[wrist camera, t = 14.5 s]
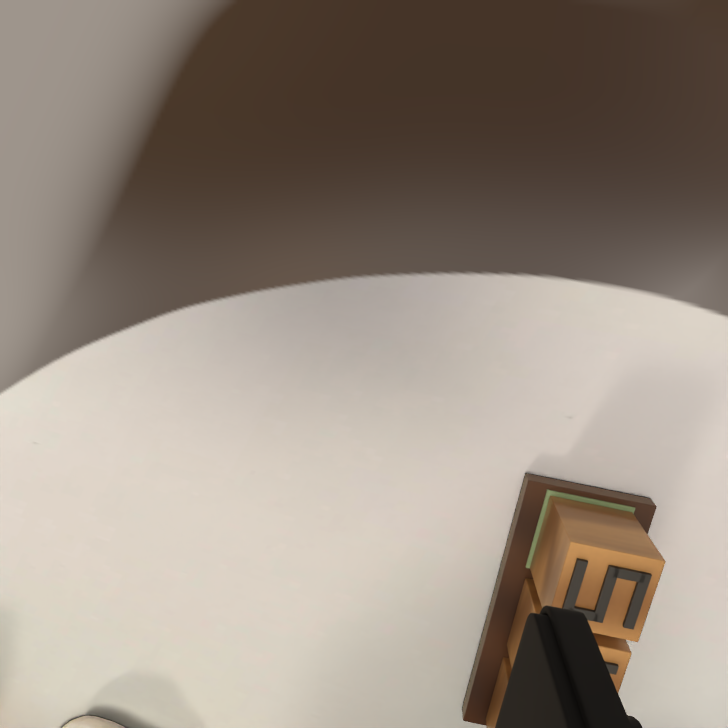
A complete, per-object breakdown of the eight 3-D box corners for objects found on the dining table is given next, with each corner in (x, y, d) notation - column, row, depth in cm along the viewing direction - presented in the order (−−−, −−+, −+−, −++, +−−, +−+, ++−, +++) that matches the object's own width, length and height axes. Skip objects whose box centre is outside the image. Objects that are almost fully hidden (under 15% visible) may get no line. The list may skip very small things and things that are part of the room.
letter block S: (550, 495, 36) (571, 543, 31) (632, 512, 36) (667, 563, 31) (529, 567, 37) (546, 625, 32) (609, 584, 37) (639, 645, 32)
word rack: (525, 472, 37) (546, 526, 31) (650, 498, 37) (696, 557, 31) (461, 708, 41) (469, 796, 35) (574, 732, 41) (601, 824, 35)
